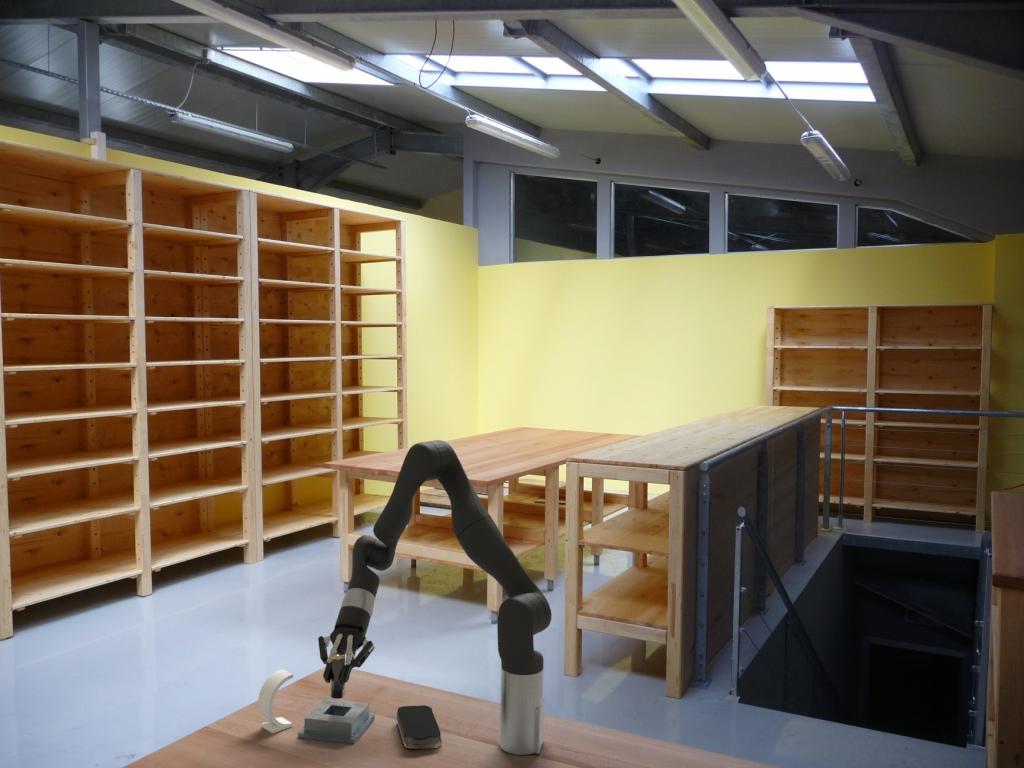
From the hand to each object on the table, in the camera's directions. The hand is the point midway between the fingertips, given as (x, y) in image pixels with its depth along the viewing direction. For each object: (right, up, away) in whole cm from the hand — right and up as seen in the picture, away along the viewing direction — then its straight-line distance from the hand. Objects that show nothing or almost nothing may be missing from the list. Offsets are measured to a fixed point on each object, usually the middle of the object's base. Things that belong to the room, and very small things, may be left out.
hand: (334, 681), depth 184 cm
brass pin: (0, -4, +2) cm, 4 cm away
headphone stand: (-14, -11, +2) cm, 18 cm away
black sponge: (+19, -12, 0) cm, 22 cm away
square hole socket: (0, -11, +2) cm, 11 cm away
